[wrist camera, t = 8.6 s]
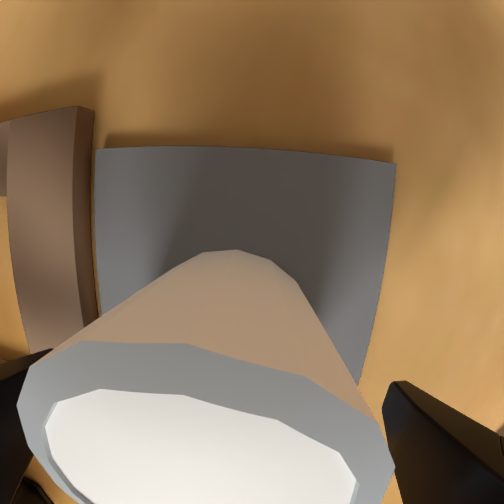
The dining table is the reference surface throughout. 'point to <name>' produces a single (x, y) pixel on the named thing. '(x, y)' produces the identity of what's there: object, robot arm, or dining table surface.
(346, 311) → the rubber mat
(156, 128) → the dining table surface
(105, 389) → the white cup
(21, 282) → the board
